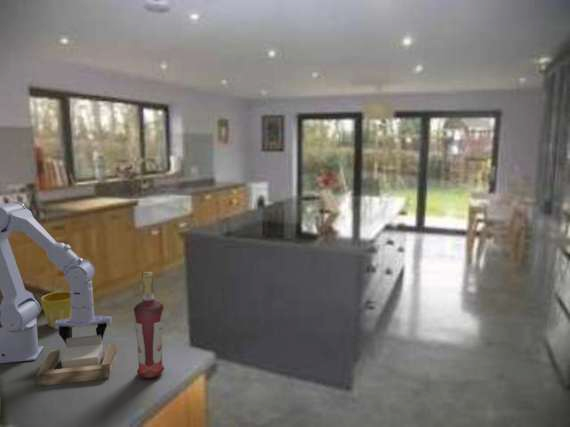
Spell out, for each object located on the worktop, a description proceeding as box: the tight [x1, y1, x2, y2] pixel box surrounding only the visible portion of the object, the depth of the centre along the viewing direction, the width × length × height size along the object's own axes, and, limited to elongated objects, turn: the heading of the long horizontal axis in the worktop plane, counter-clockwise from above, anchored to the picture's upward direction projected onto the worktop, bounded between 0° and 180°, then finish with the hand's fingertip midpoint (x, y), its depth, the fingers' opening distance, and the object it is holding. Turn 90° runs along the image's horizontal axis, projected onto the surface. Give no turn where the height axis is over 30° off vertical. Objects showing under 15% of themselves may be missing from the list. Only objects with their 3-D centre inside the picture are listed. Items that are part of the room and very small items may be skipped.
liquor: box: [133, 271, 165, 380], centre depth 113 cm, size 7×7×28 cm
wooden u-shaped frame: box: [36, 343, 118, 387], centre depth 117 cm, size 17×14×3 cm
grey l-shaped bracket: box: [60, 334, 104, 369], centre depth 119 cm, size 9×7×6 cm
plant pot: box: [40, 291, 72, 329], centre depth 145 cm, size 10×10×10 cm
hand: (85, 349), depth 124 cm, fingers open, 7 cm apart
